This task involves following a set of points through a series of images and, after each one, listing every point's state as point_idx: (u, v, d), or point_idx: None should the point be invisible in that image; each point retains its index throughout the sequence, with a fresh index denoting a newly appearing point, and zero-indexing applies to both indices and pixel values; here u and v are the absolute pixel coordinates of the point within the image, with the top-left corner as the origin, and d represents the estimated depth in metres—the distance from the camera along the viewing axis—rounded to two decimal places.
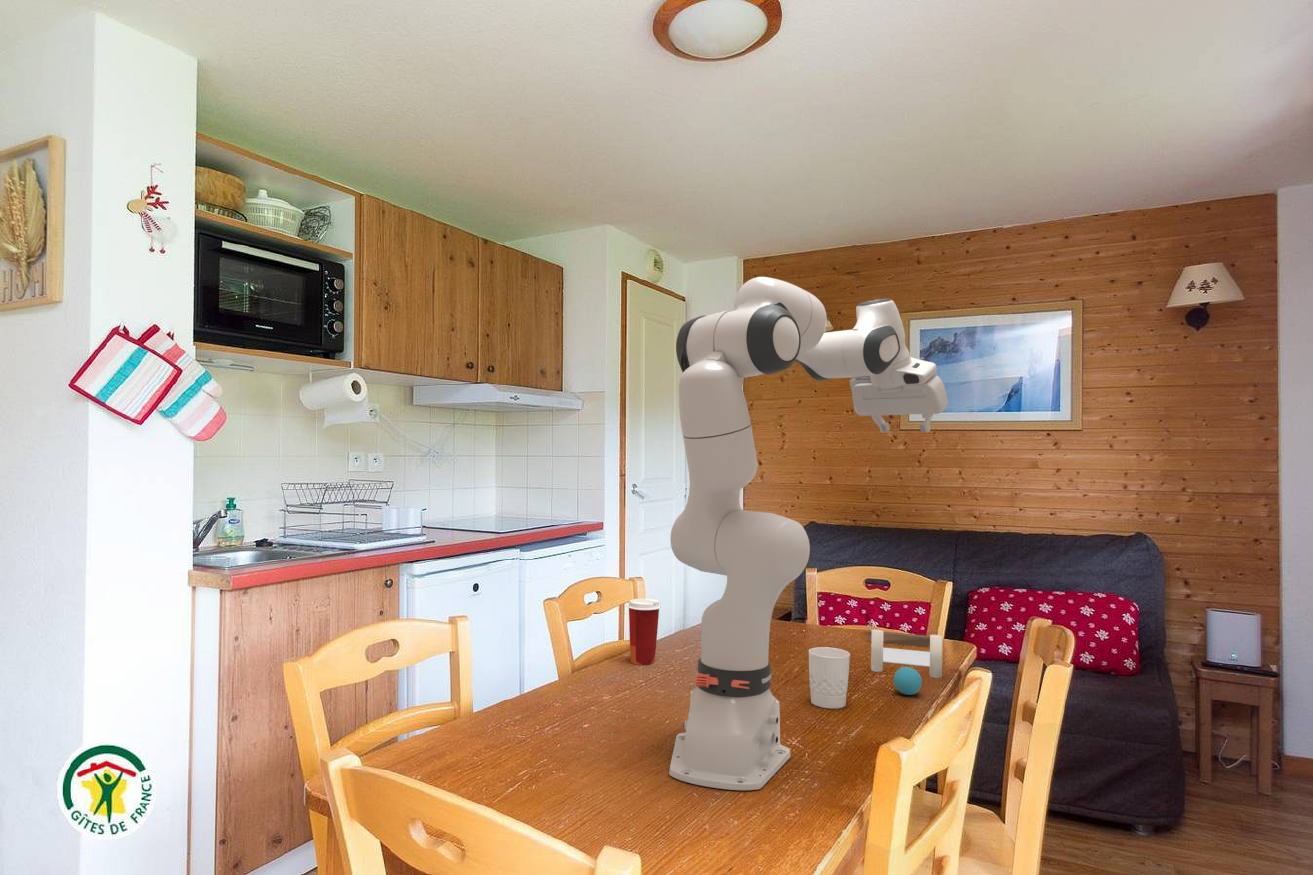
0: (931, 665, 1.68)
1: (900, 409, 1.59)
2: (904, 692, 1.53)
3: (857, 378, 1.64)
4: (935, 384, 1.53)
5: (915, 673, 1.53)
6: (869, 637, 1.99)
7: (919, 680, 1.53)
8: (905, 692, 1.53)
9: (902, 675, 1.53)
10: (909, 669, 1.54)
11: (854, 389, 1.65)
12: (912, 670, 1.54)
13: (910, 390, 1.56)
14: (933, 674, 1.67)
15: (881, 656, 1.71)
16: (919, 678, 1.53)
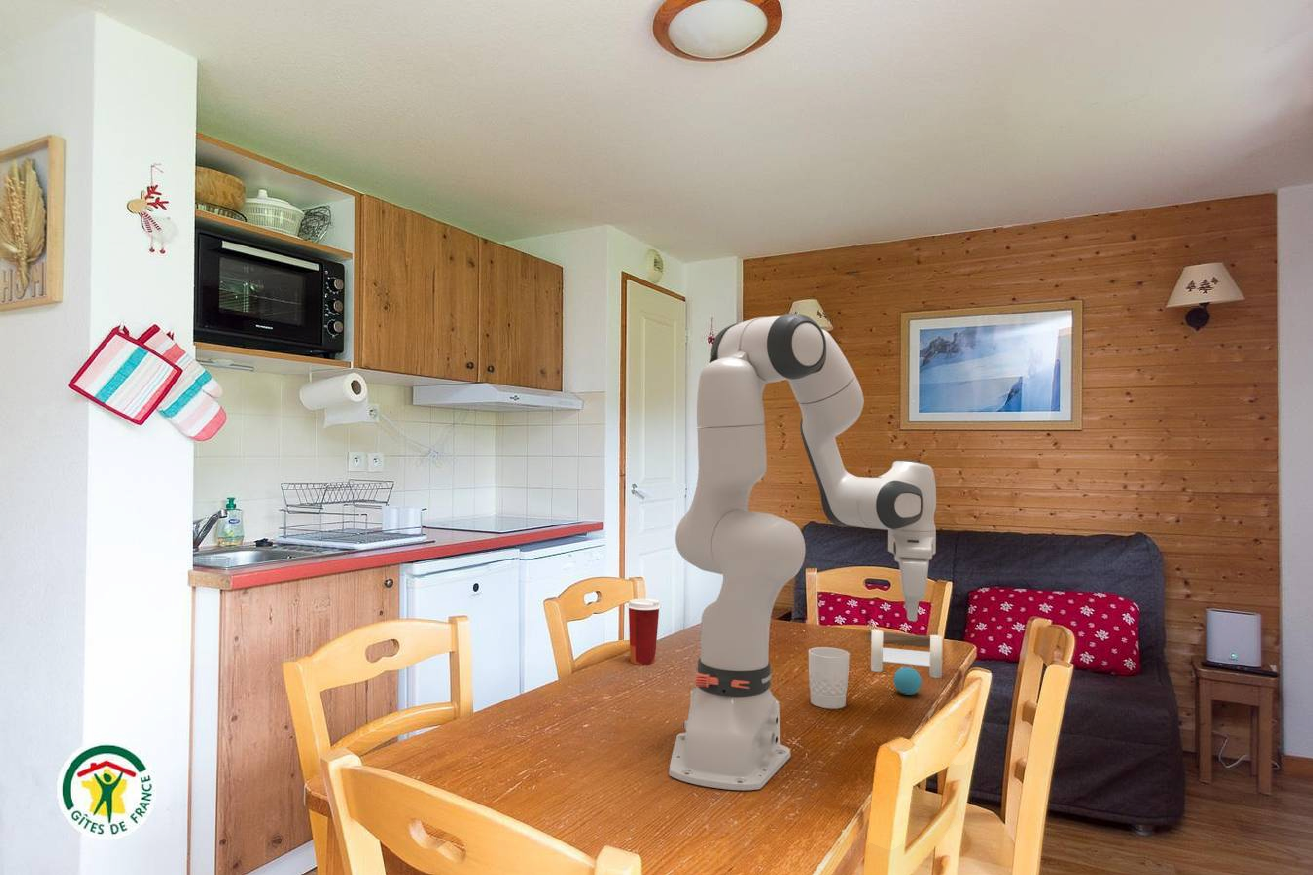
0: (931, 665, 1.68)
1: (901, 584, 1.46)
2: (904, 692, 1.53)
3: None
4: (911, 566, 1.38)
5: (915, 673, 1.53)
6: (869, 637, 1.99)
7: (919, 680, 1.53)
8: (905, 692, 1.53)
9: (902, 675, 1.53)
10: (909, 669, 1.54)
11: None
12: (912, 670, 1.54)
13: None
14: (933, 674, 1.67)
15: (881, 656, 1.71)
16: (919, 678, 1.53)
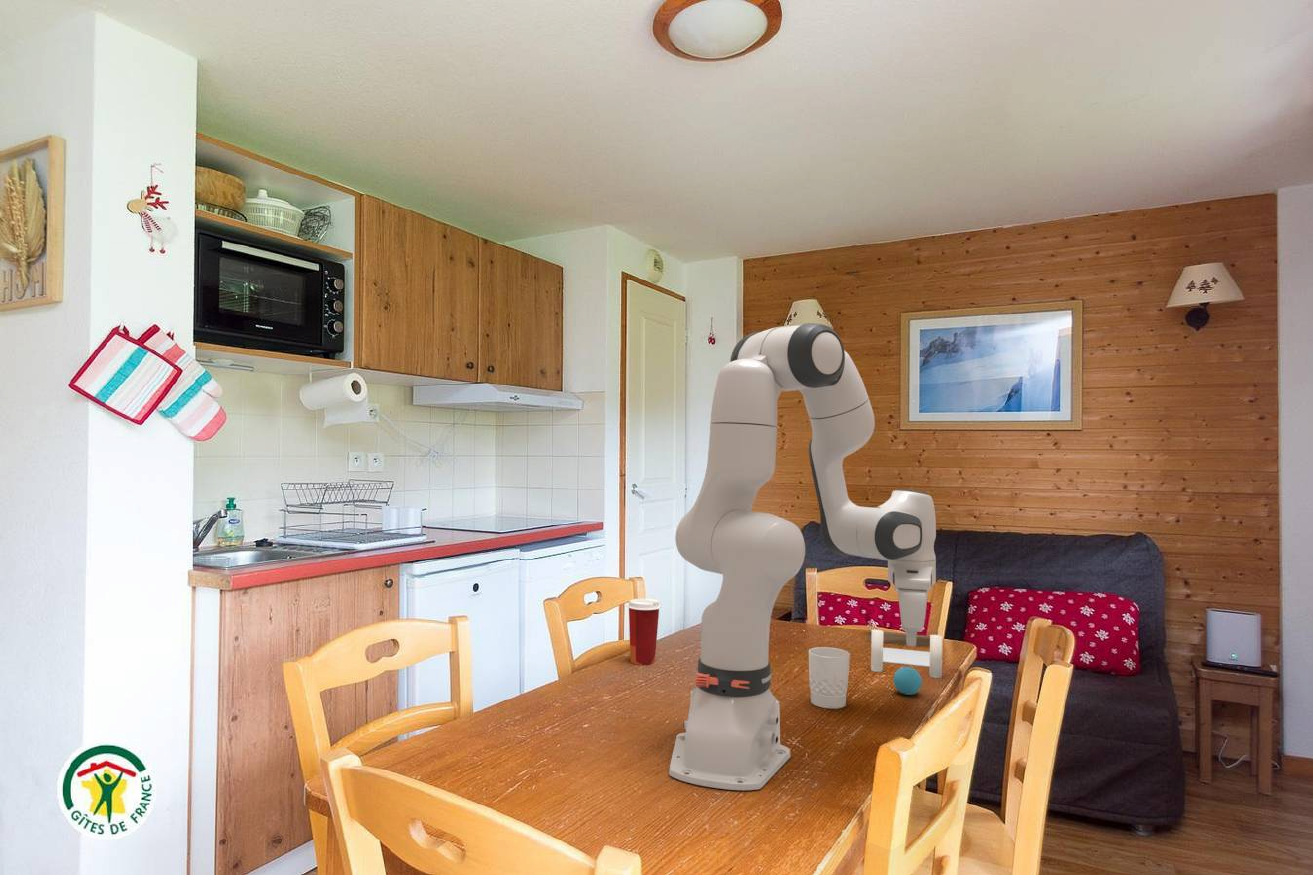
0: (931, 665, 1.68)
1: None
2: (904, 692, 1.53)
3: None
4: (909, 597, 1.37)
5: (915, 673, 1.53)
6: (869, 637, 1.99)
7: (919, 680, 1.53)
8: (905, 692, 1.53)
9: (902, 675, 1.53)
10: (909, 669, 1.54)
11: None
12: (912, 670, 1.54)
13: None
14: (933, 674, 1.67)
15: (881, 656, 1.71)
16: (919, 678, 1.53)
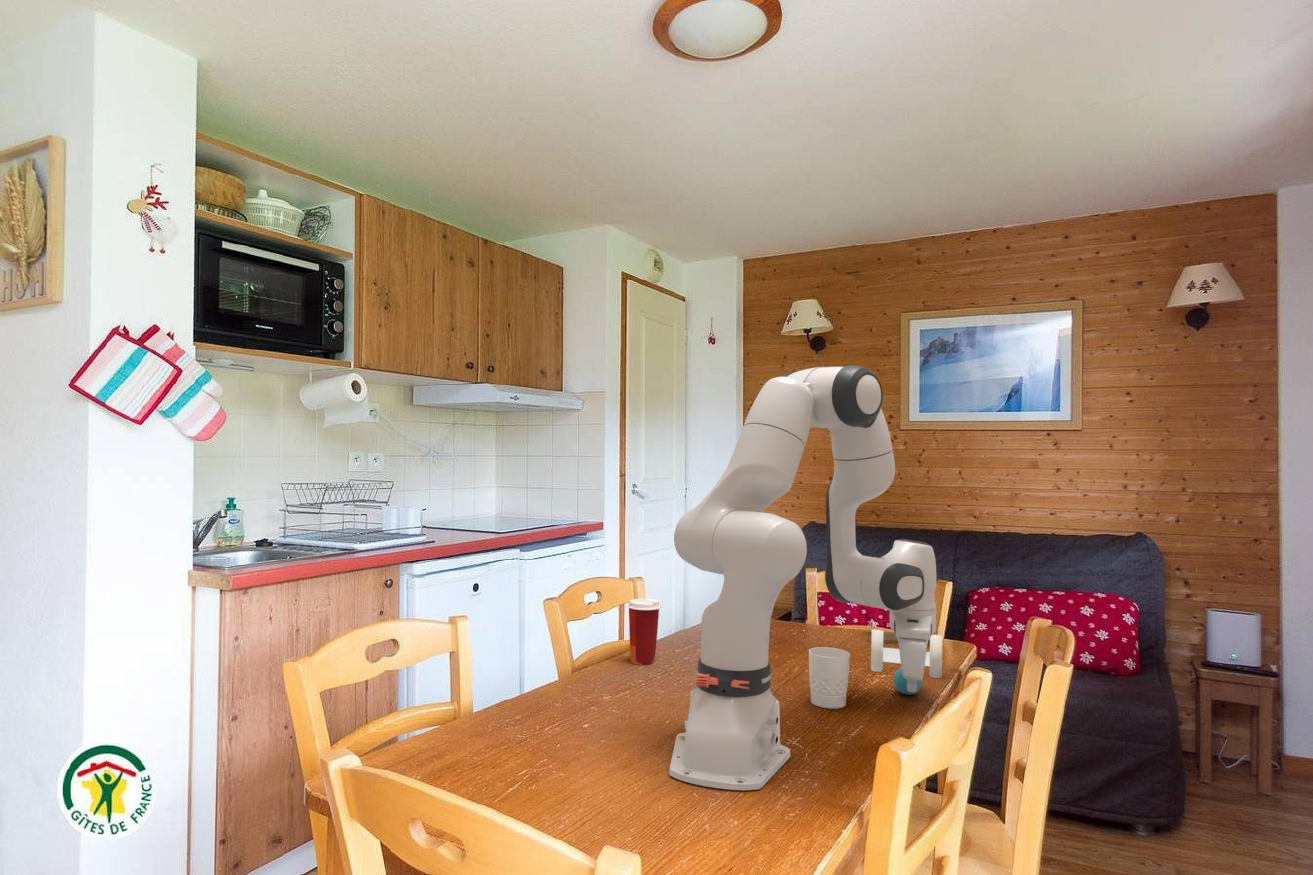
0: (931, 665, 1.68)
1: None
2: (904, 692, 1.53)
3: None
4: (909, 647, 1.42)
5: None
6: (869, 637, 1.99)
7: (919, 680, 1.53)
8: (905, 692, 1.53)
9: None
10: None
11: None
12: None
13: None
14: (933, 674, 1.67)
15: (881, 656, 1.71)
16: None
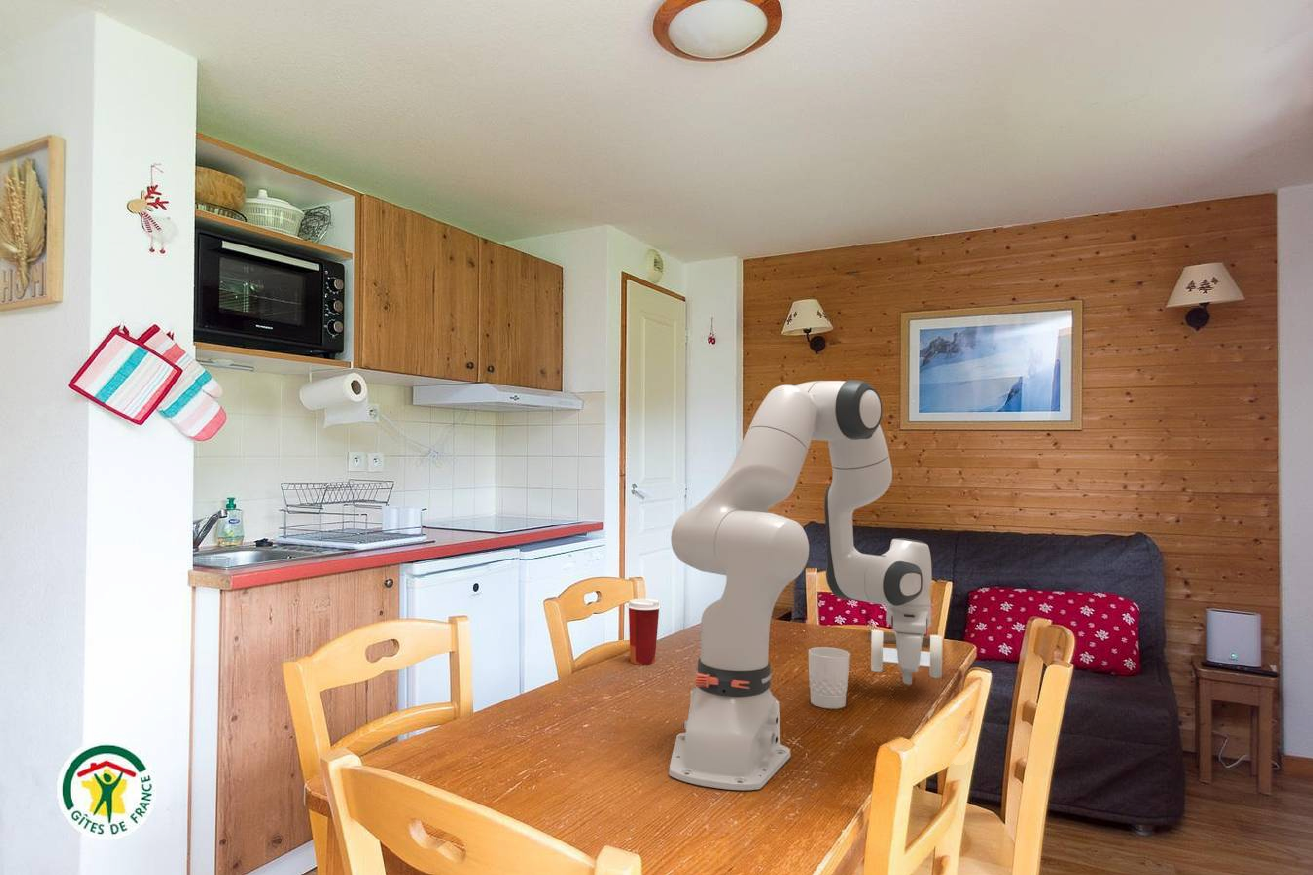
0: (931, 665, 1.68)
1: None
2: None
3: None
4: (906, 640, 1.49)
5: None
6: (869, 637, 1.99)
7: None
8: None
9: None
10: None
11: None
12: None
13: None
14: (933, 674, 1.67)
15: (881, 656, 1.71)
16: None
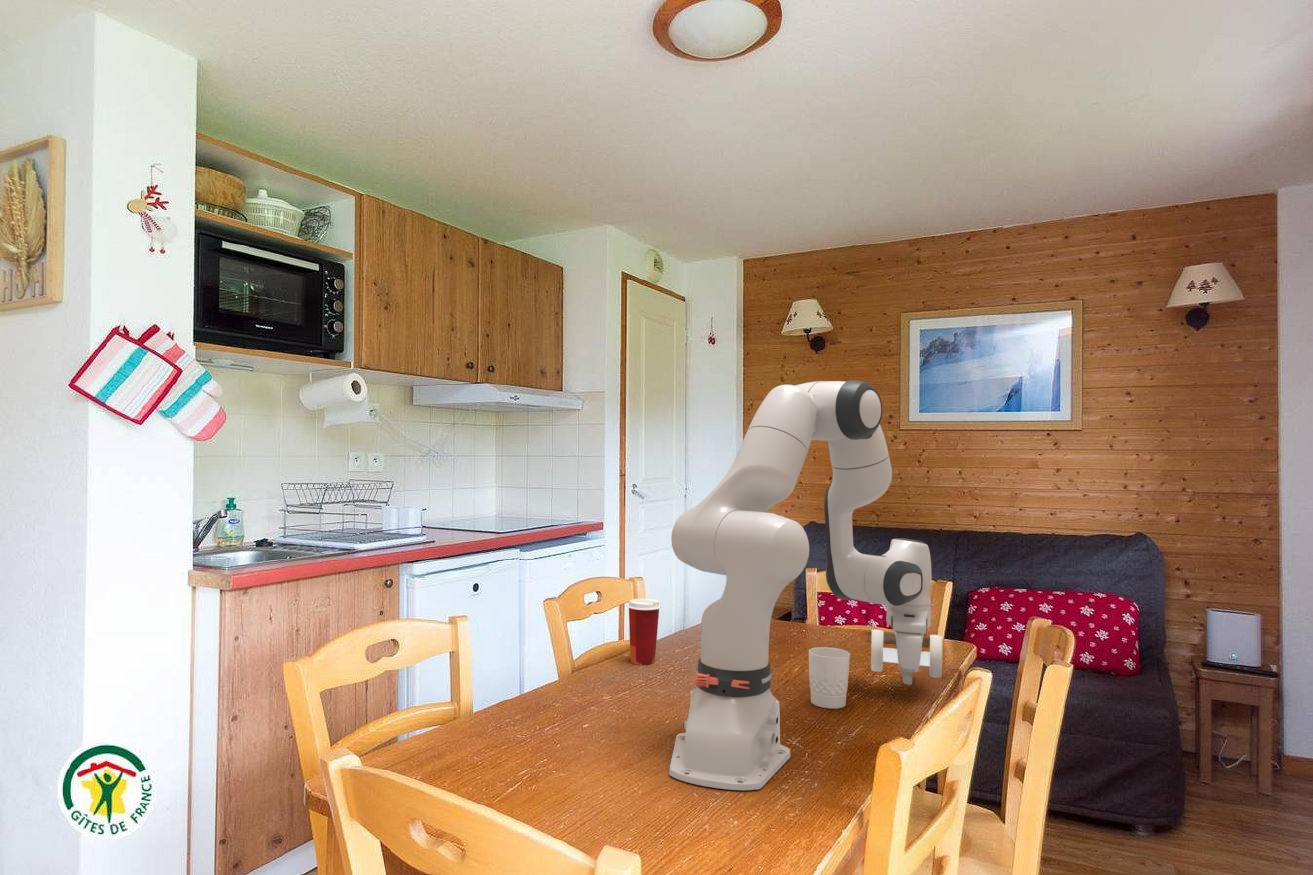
0: (931, 665, 1.68)
1: None
2: None
3: None
4: (906, 640, 1.49)
5: None
6: (869, 637, 1.99)
7: None
8: None
9: None
10: None
11: None
12: None
13: None
14: (933, 674, 1.67)
15: (881, 656, 1.71)
16: None
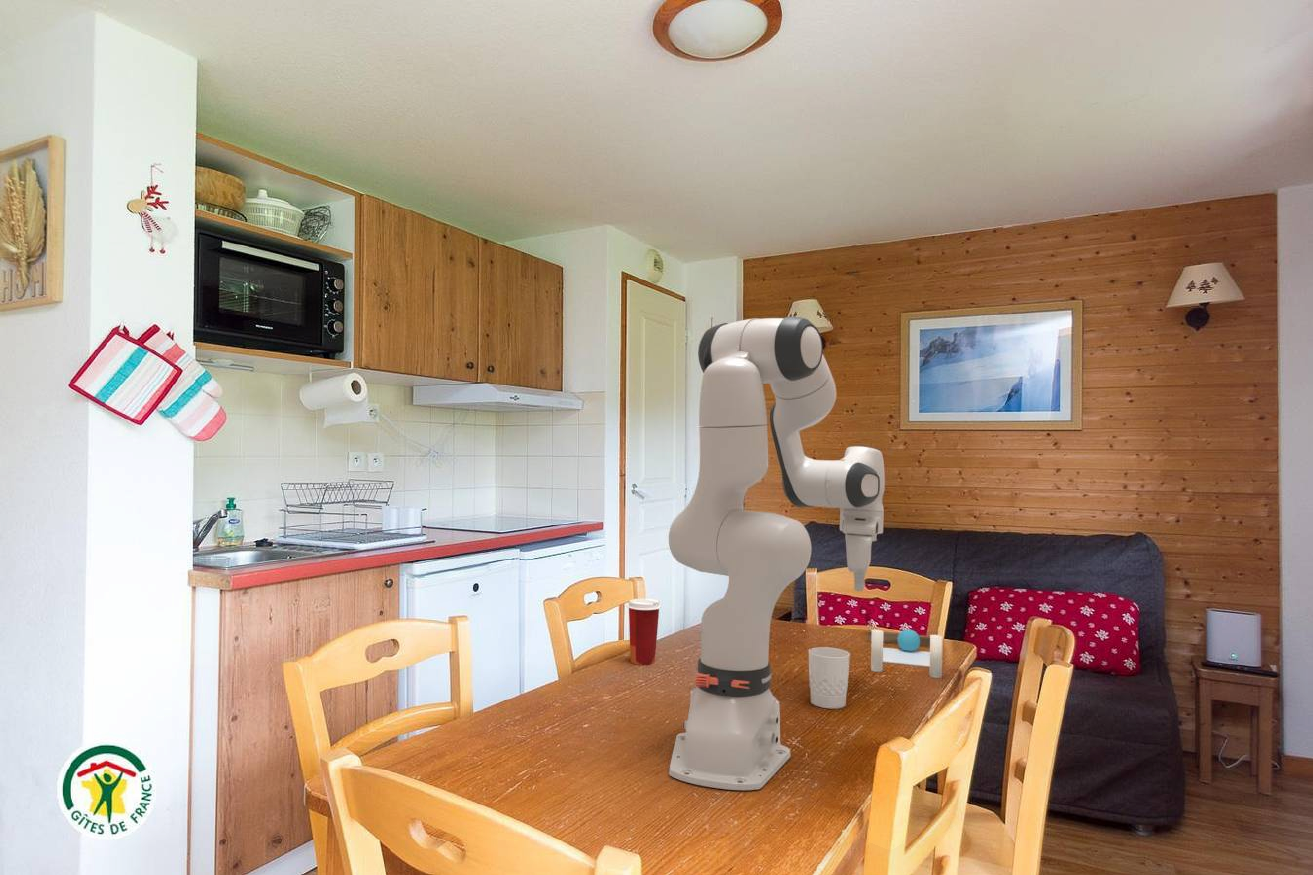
0: (931, 665, 1.68)
1: None
2: (906, 643, 1.87)
3: None
4: (855, 541, 1.49)
5: None
6: (869, 637, 1.99)
7: (918, 636, 1.89)
8: (907, 642, 1.87)
9: (905, 630, 1.90)
10: None
11: None
12: None
13: None
14: (933, 674, 1.67)
15: (881, 656, 1.71)
16: (918, 635, 1.89)
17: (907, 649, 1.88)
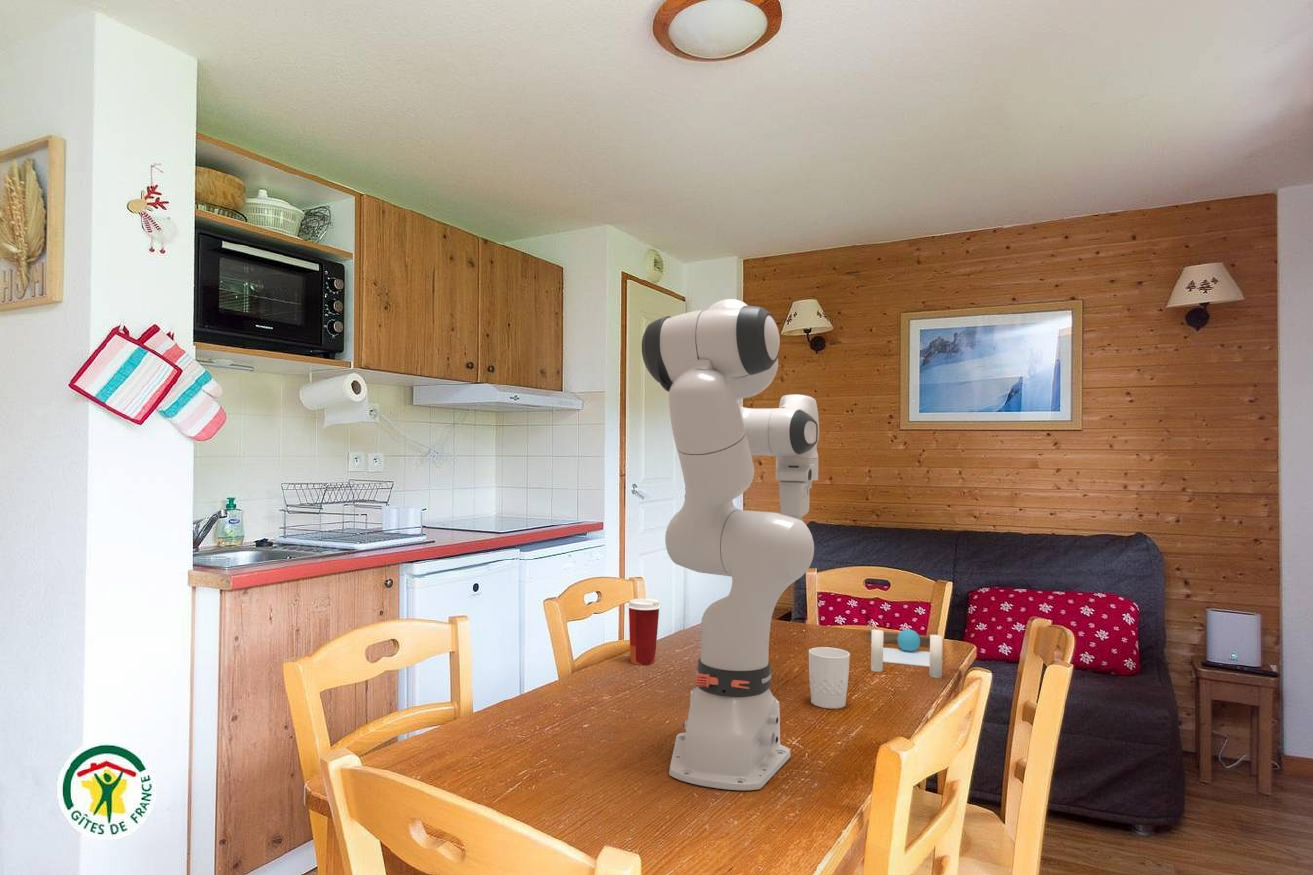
0: (931, 665, 1.68)
1: None
2: (906, 643, 1.87)
3: None
4: (788, 488, 1.50)
5: None
6: (869, 637, 1.99)
7: (918, 636, 1.89)
8: (907, 642, 1.87)
9: (905, 630, 1.90)
10: None
11: None
12: None
13: None
14: (933, 674, 1.67)
15: (881, 656, 1.71)
16: (918, 635, 1.89)
17: (907, 649, 1.88)
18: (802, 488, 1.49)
